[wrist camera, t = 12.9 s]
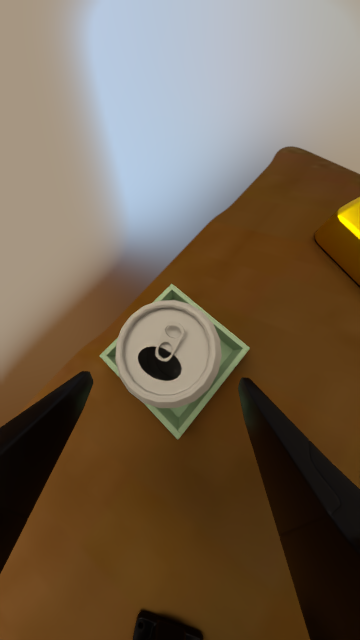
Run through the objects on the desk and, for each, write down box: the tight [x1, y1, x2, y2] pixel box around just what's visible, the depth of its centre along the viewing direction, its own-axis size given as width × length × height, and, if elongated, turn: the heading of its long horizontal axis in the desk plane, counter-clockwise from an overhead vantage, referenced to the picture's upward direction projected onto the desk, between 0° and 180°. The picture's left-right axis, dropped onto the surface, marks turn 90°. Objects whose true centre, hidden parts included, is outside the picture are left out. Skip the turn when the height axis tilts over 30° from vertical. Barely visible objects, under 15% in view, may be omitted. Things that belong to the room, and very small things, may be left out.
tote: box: [100, 284, 250, 439], centre depth 19 cm, size 12×12×4 cm
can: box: [115, 300, 222, 408], centre depth 15 cm, size 8×8×12 cm
